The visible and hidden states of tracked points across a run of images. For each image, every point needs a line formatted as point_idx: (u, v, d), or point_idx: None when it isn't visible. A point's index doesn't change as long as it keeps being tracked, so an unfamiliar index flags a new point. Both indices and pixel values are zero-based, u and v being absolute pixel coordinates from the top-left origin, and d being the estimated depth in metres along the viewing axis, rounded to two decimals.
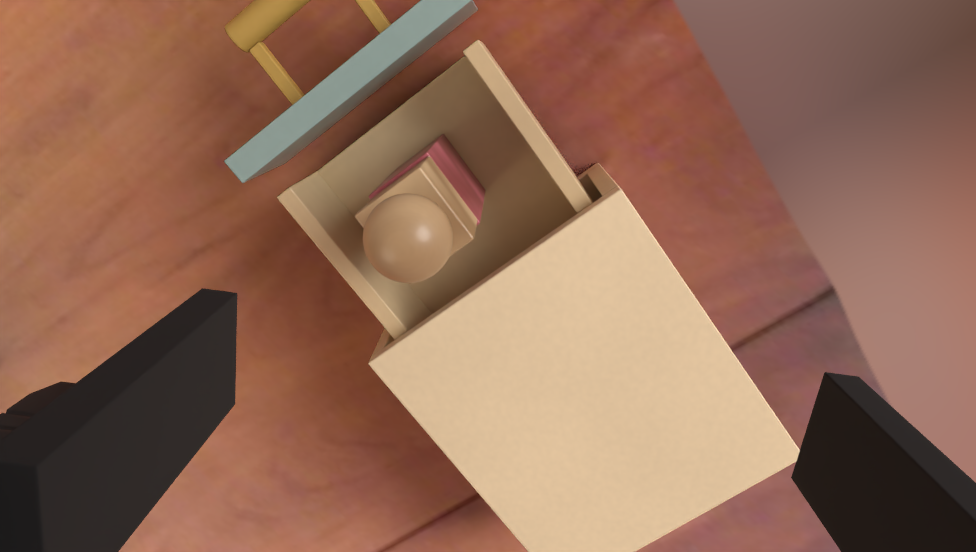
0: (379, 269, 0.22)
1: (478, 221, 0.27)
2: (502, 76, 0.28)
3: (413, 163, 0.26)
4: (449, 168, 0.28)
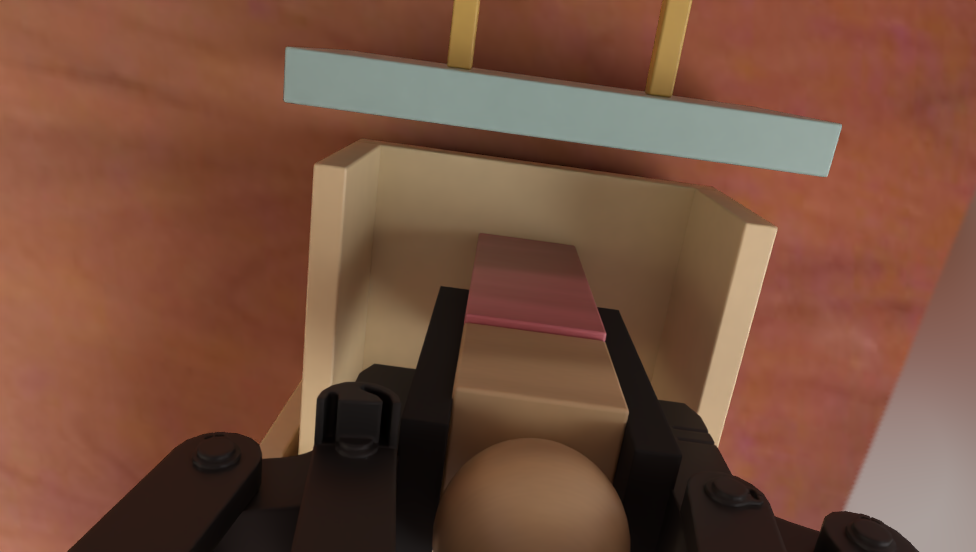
0: None
1: None
2: (757, 295, 0.16)
3: (573, 330, 0.14)
4: None
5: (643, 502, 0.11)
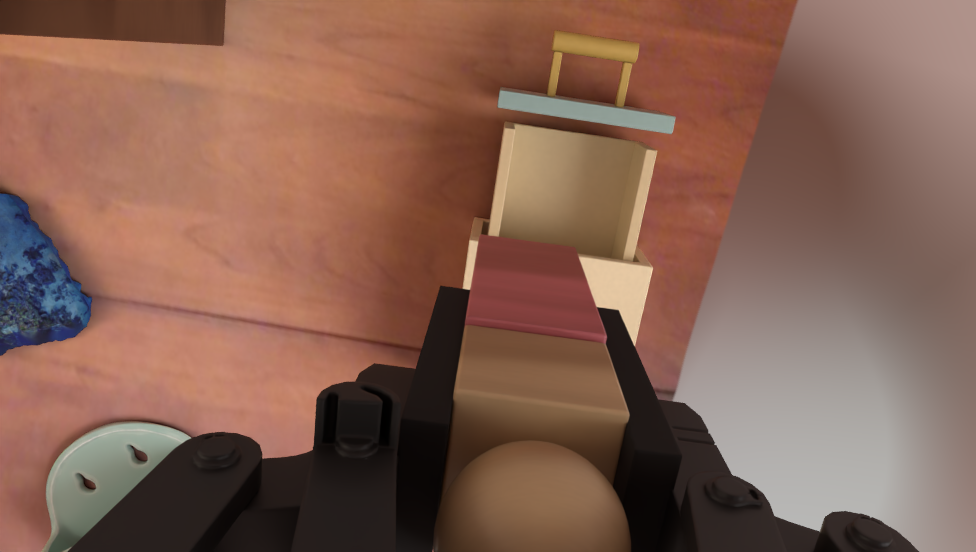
0: None
1: None
2: (651, 175, 0.49)
3: (573, 332, 0.14)
4: None
5: (643, 502, 0.11)
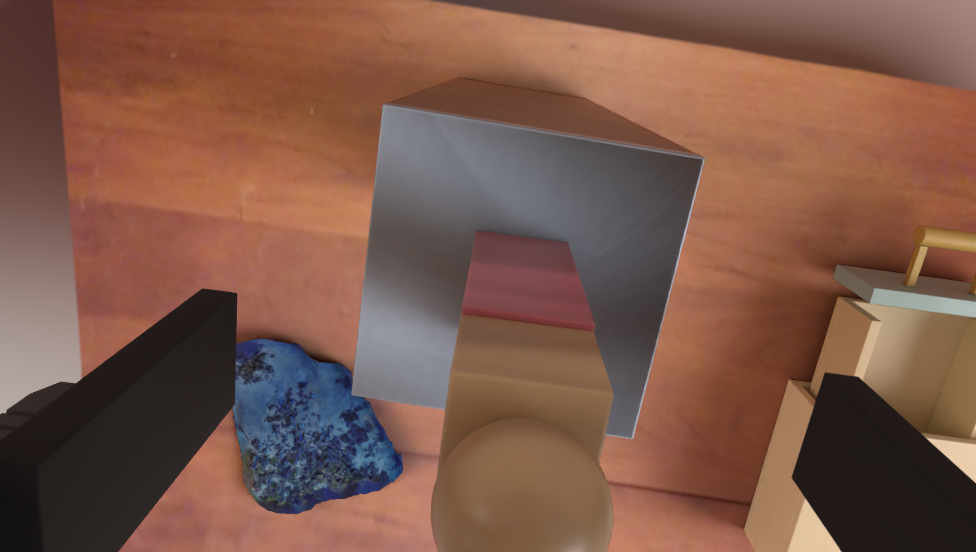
0: (446, 548, 0.10)
1: None
2: None
3: (563, 321, 0.15)
4: None
5: None
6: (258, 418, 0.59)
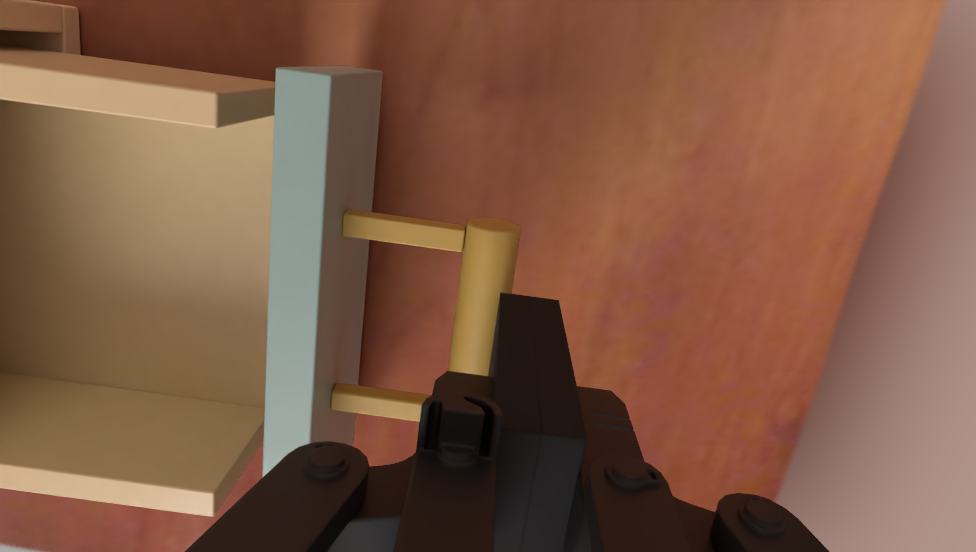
0: None
1: None
2: (149, 506, 0.18)
3: None
4: None
5: (551, 485, 0.11)
6: None
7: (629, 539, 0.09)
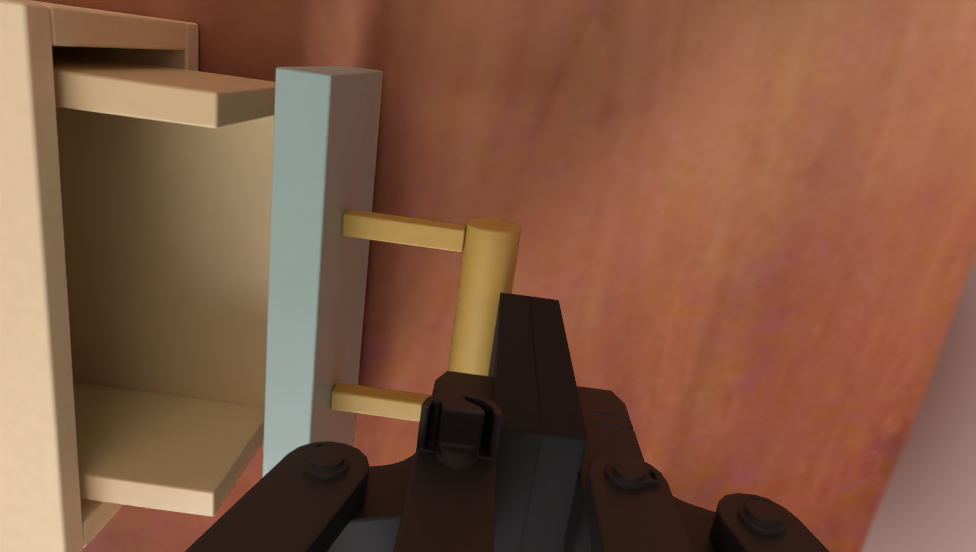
0: None
1: None
2: (149, 506, 0.18)
3: None
4: None
5: (551, 485, 0.11)
6: None
7: (629, 539, 0.09)
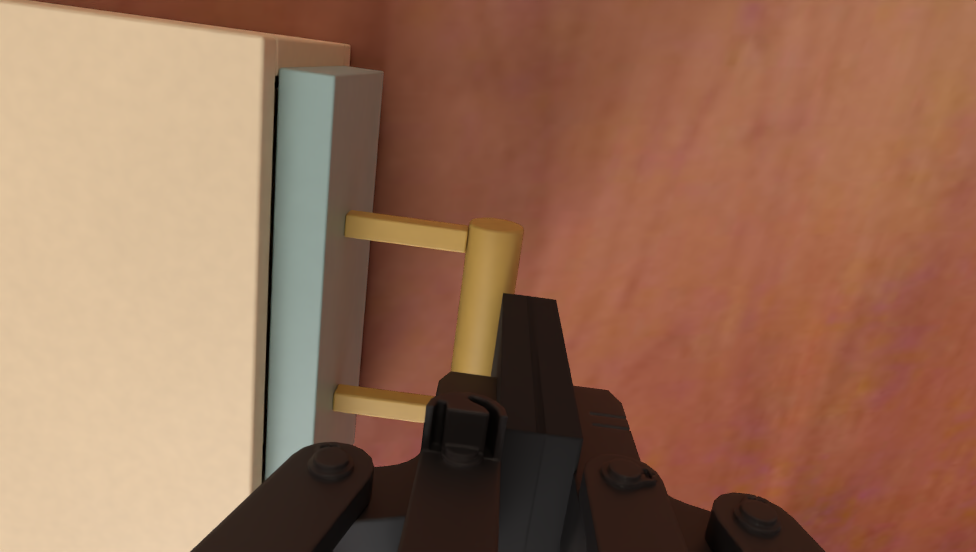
0: None
1: None
2: None
3: None
4: None
5: (547, 485, 0.11)
6: None
7: (625, 539, 0.09)
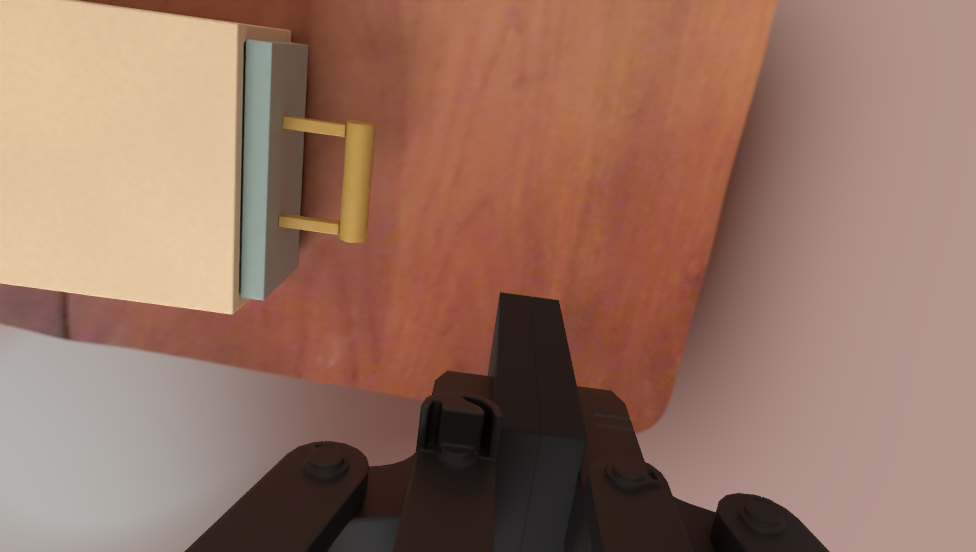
0: None
1: None
2: None
3: None
4: None
5: (551, 485, 0.11)
6: None
7: (629, 539, 0.09)
